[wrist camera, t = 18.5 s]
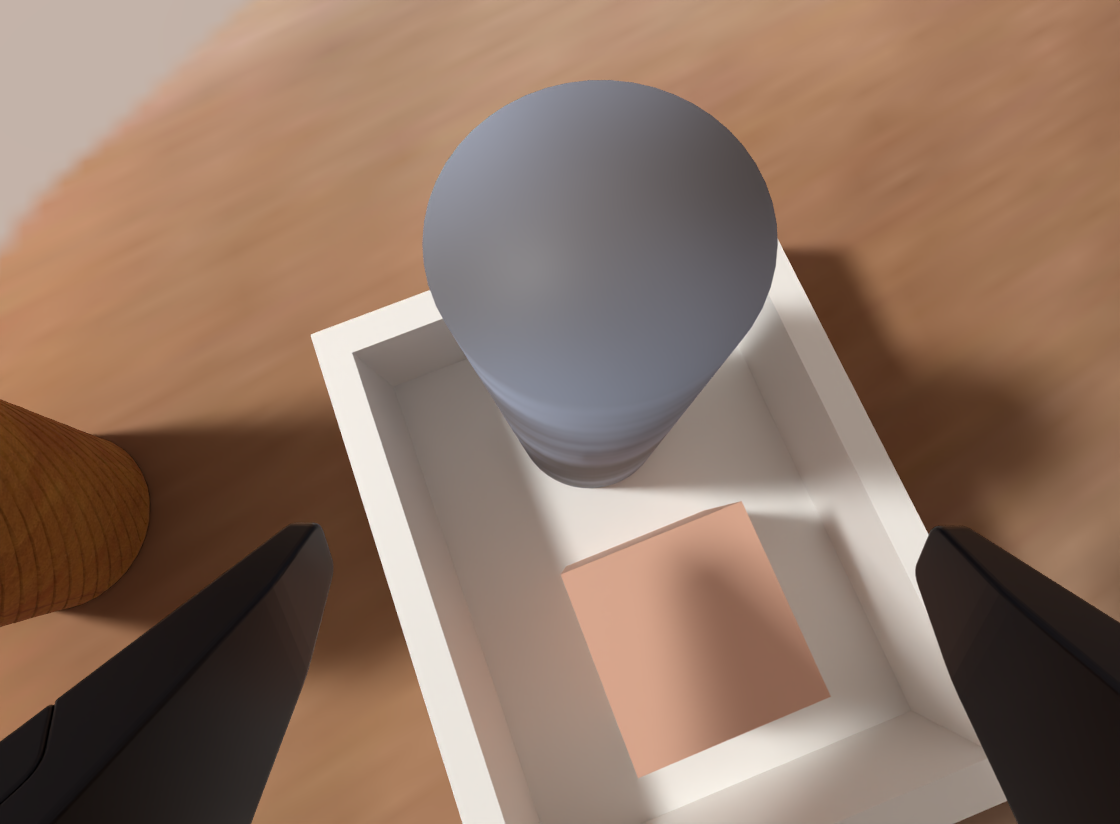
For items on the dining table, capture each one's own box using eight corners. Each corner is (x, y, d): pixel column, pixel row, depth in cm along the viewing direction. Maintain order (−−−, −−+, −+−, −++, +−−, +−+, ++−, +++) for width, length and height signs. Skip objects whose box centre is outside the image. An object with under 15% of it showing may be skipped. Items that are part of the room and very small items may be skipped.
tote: (937, 721, 20) (1054, 780, 15) (536, 890, 19) (520, 1009, 14) (710, 249, 24) (744, 172, 19) (368, 378, 23) (310, 334, 18)
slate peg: (688, 438, 21) (851, 280, 8) (567, 516, 21) (542, 477, 8) (609, 323, 22) (645, 24, 9) (491, 396, 22) (361, 189, 9)
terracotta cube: (768, 657, 19) (830, 696, 15) (624, 718, 19) (637, 778, 14) (703, 510, 20) (741, 500, 16) (565, 566, 20) (560, 574, 15)
